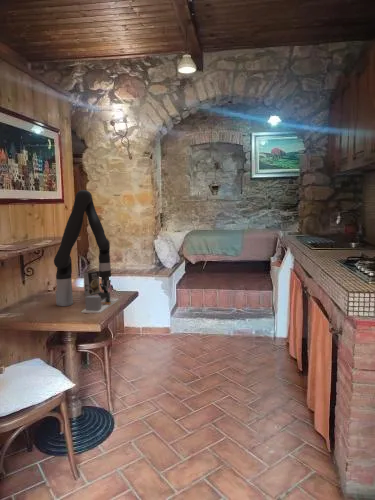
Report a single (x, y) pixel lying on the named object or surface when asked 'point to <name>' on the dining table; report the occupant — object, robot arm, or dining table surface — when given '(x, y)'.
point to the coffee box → (91, 282)
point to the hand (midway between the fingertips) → (106, 295)
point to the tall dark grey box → (104, 297)
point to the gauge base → (96, 304)
